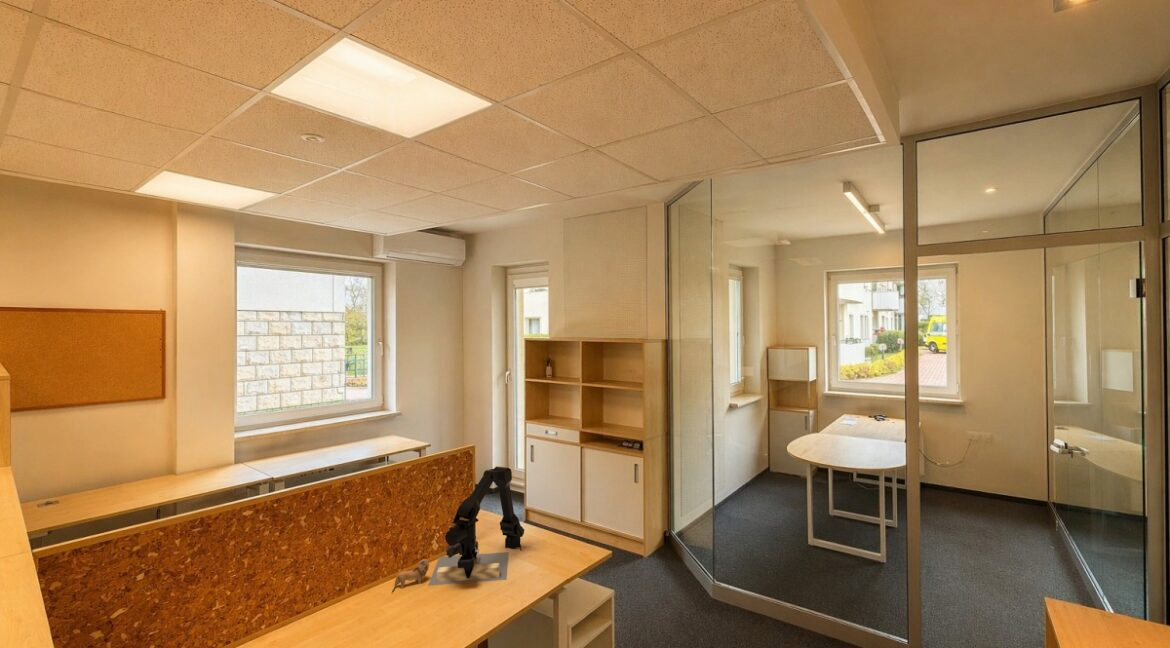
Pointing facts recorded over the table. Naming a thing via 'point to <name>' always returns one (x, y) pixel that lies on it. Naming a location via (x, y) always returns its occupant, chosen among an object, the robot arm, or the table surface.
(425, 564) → the lion figurine
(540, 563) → the table surface
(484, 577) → the beech batten
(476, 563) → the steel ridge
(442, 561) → the base board
